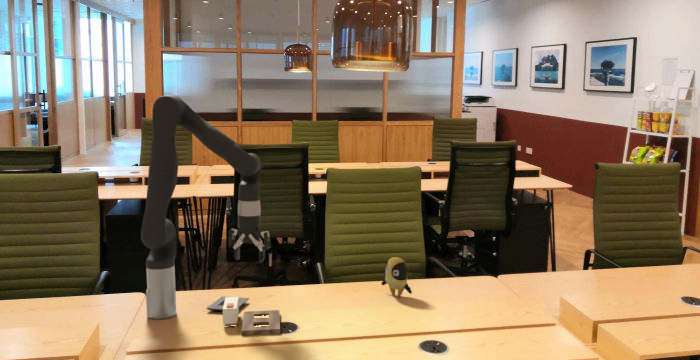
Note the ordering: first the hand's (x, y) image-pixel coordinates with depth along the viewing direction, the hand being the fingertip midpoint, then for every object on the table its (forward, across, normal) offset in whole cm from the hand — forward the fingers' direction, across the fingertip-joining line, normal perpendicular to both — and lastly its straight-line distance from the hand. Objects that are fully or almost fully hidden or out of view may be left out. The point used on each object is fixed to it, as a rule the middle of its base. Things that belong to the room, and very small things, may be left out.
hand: (249, 260), depth 203 cm
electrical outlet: (+20, -11, +7) cm, 24 cm away
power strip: (+20, -4, -6) cm, 21 cm away
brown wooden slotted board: (+20, +7, -6) cm, 22 cm away
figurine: (+19, +45, +34) cm, 59 cm away
